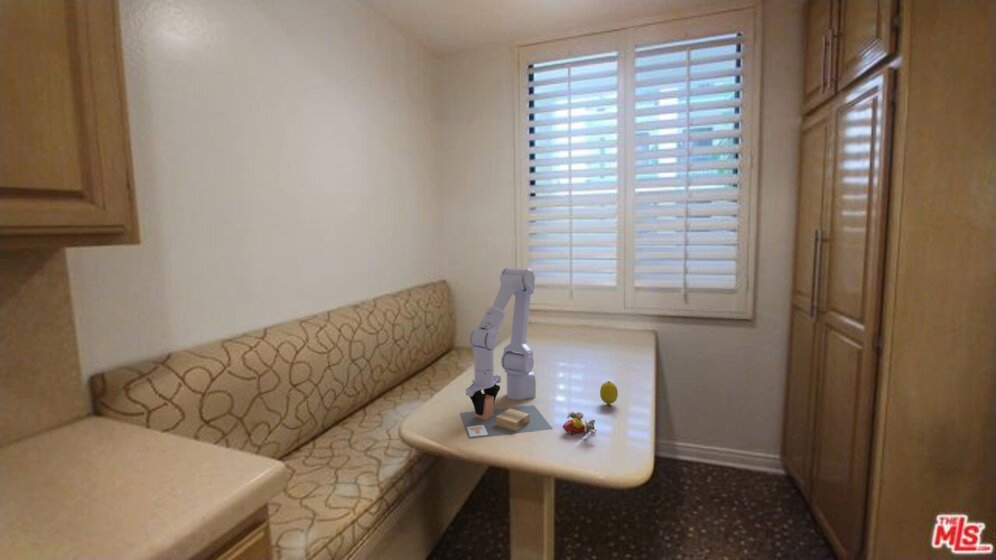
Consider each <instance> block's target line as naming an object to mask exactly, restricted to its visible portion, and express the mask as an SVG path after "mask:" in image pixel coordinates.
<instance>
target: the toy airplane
mask: <svg viewBox="0 0 996 560" xmlns="http://www.w3.org/2000/svg"><path fill="white" fill-rule="evenodd" d="M567 414H568V415H567V417H566V418H567V419H570V418H571V419H570V420H566V421H565V422H564V424H563V425H562V429H564V431H565V433H566V432H567V433H568V434H569V435H570V436H571V437H572V436H576V434H575V433H581V432H583V431H584V432H585V433H586V432H587V431H588V432H590V433H592V434H596V432H597V430H598V429H596V428H595V424H596V423H595V422H596V419H594V418H592V419H590V420H588V422H587V419H584V420H585V421H583V420H582V419H583V417H584V413H583V412H582V411H577V412H575V411H574V410H573V411H570V412H569V413H567Z"/></svg>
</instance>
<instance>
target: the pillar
mask: <svg viewBox="0 0 996 560" xmlns="http://www.w3.org/2000/svg"><path fill="white" fill-rule="evenodd" d="M494 406H495V403H494V396H491V395H487V394H486V397H485V401H484V408H483V415H481V416H480V415H477V414H476V412H475V417H478V418H481V419H484V420H487V419H488V418H490V417H492V416H494V409H495V407H494Z"/></svg>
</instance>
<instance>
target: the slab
mask: <svg viewBox="0 0 996 560" xmlns="http://www.w3.org/2000/svg"><path fill="white" fill-rule="evenodd" d="M509 408H510V409H508V410H506V411H505V412H503V413H501V414H500V415H498V416H496V425H499V426H502V427H505V428H508V429H511V430H514V431H517V430H519V429H520V428H522V427H523V426H525V425H526V424H528V423H529V422H530V414H528V413H524V412H521V411H517V410H514V409H511V408H512V407H509Z"/></svg>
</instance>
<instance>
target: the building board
mask: <svg viewBox="0 0 996 560" xmlns="http://www.w3.org/2000/svg"><path fill="white" fill-rule="evenodd" d="M510 408H511V409H514V410H517V411H521V412H524V413H528V414H530V422H529V423H528V424H526V425H525V426H523V427H522V428H520V429H519V430H517V431H514V430H511V429H508V428H505V427H502V426H499V425H496V416H498V415H500V414H501V413H503V412H505V411H506V410H508V409H510ZM459 414H460V417H461V420H462V423H463V426H464V429H465V432H466V435H467V438H468V439H469V440H471V439H472V440H473V439H481V438H489V437H496V436H497V437H498V436H506V435H512V434H514V435H515V434H522V433H529V432H531V433H532V432H538V431H547V430H553V428H554V427H552V425H550V424H549V422H548V420H547V419H545V417H544V416H543V414H542V413H541V412H540V411H539V409H538V408H537V407H536V406H535V405H534V404H533V405H531V404H530V405H522V406H515V407H514V406H513V407H504V408H494V416H492V417H490V418H488V419H487V420H484V419H481V418H478V417H475V410H474V411H466V412H459Z"/></svg>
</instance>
